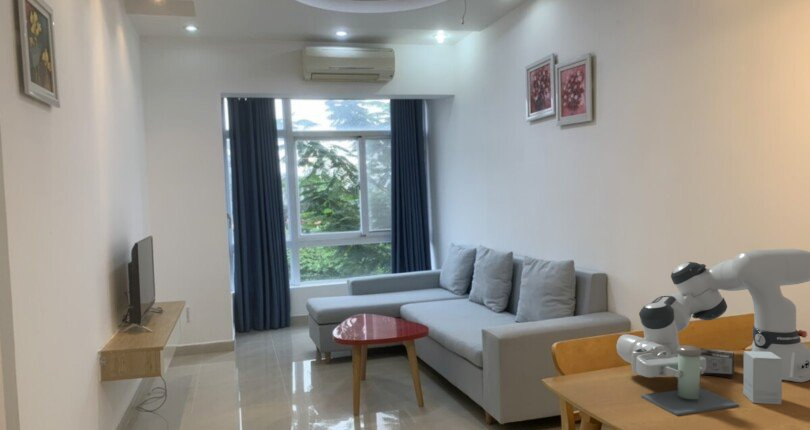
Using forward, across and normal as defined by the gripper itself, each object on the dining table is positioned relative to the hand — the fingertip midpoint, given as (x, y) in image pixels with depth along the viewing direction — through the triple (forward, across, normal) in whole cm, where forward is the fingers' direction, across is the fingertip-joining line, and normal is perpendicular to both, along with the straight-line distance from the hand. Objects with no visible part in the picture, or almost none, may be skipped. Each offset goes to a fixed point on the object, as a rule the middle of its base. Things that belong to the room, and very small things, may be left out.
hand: (691, 373), depth 162 cm
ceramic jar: (-1, 0, -7) cm, 7 cm away
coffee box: (-27, -18, -5) cm, 33 cm away
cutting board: (-1, 0, -8) cm, 8 cm away
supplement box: (+4, -20, -8) cm, 22 cm away
